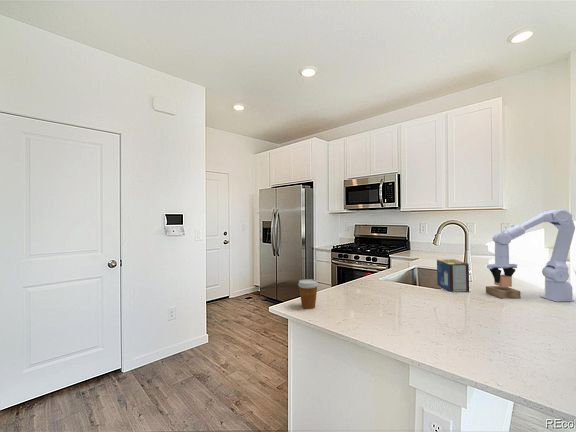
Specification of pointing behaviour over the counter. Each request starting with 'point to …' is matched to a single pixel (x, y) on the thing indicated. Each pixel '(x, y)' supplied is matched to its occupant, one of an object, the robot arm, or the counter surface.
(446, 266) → the protein box
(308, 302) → the disposable coffee cup
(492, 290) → the walnut base
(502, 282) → the terracotta block
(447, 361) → the counter surface
